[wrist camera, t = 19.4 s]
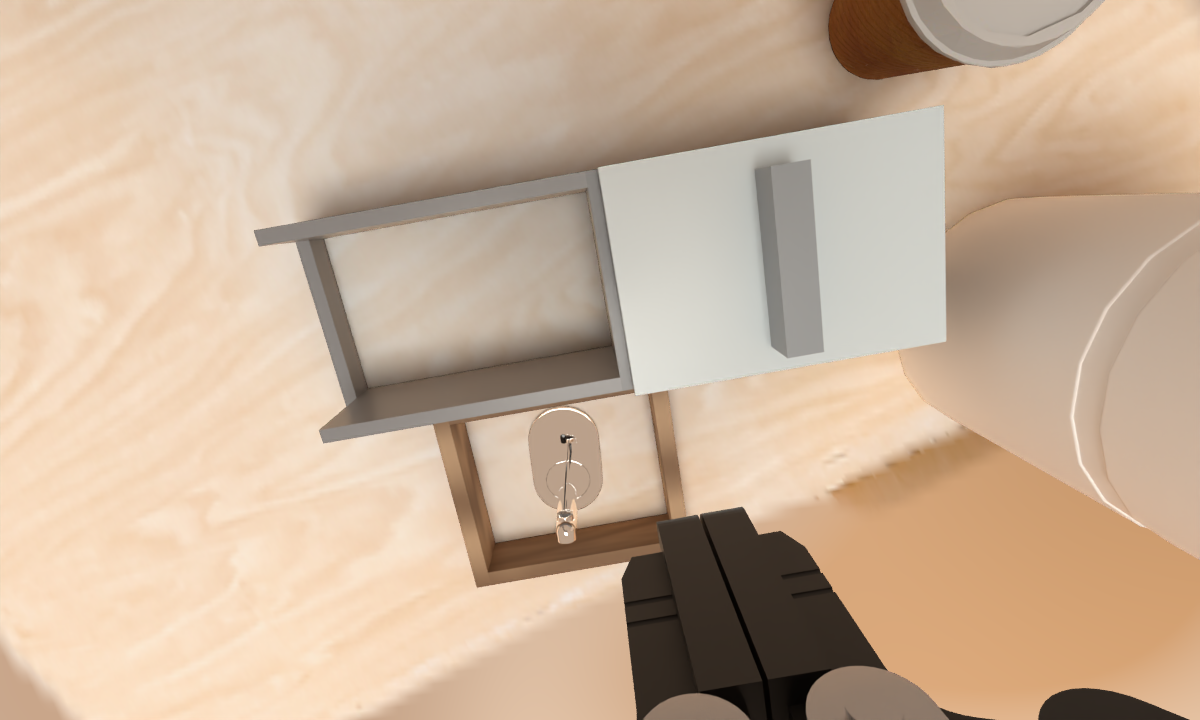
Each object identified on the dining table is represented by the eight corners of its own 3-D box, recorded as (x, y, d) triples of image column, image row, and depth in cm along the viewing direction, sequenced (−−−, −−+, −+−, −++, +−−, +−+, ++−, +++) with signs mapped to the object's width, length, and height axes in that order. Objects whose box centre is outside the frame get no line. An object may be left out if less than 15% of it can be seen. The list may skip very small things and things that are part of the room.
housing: (307, 228, 36) (238, 233, 29) (847, 131, 35) (916, 111, 28) (359, 401, 39) (309, 445, 32) (857, 314, 39) (921, 338, 31)
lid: (597, 168, 28) (599, 163, 25) (932, 108, 28) (977, 95, 25) (634, 390, 31) (640, 411, 28) (936, 337, 31) (976, 352, 28)
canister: (905, 446, 41) (1191, 655, 22) (885, 227, 37) (1216, 248, 18) (1124, 398, 41) (1610, 567, 22) (1129, 170, 37) (1737, 129, 17)
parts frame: (442, 395, 39) (429, 413, 36) (657, 357, 39) (664, 372, 35) (485, 557, 42) (476, 587, 39) (682, 523, 42) (691, 550, 39)
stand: (595, 402, 40) (605, 504, 42) (524, 409, 40) (538, 511, 42) (598, 447, 32) (610, 568, 34) (512, 455, 32) (529, 576, 34)
